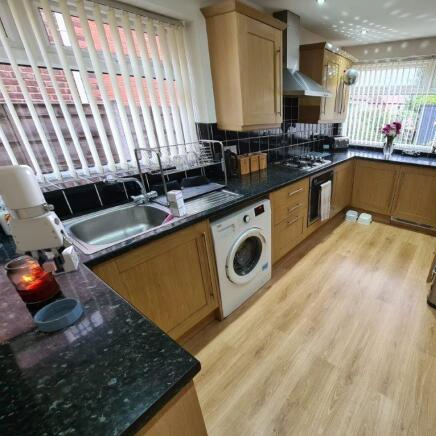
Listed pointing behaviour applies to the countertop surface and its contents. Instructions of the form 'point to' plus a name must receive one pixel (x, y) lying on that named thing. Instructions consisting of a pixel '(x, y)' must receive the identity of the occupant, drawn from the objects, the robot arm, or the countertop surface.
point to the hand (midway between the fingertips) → (54, 266)
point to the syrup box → (176, 203)
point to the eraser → (49, 265)
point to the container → (69, 257)
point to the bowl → (58, 315)
